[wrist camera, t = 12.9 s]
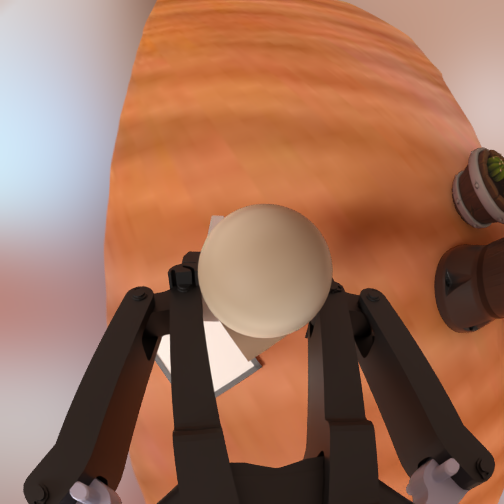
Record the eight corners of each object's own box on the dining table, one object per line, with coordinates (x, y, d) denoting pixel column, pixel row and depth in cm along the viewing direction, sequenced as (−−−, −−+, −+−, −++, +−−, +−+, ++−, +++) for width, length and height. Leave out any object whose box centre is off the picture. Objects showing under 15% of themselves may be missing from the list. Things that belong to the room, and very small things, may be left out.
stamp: (298, 320, 21) (407, 303, 7) (246, 357, 20) (273, 414, 6) (248, 249, 23) (272, 128, 9) (195, 283, 22) (134, 203, 8)
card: (261, 366, 34) (262, 366, 33) (192, 410, 31) (192, 411, 31) (211, 297, 36) (211, 296, 35) (144, 342, 33) (143, 342, 33)
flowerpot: (432, 168, 44) (493, 109, 24) (476, 175, 45) (531, 130, 25) (453, 240, 40) (533, 196, 21) (495, 237, 41) (561, 203, 22)
